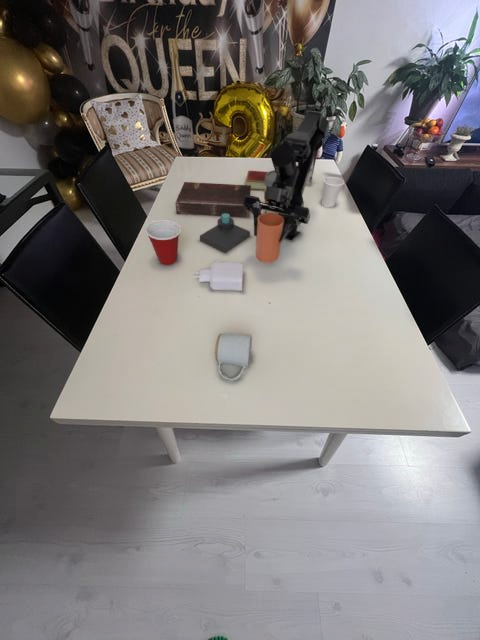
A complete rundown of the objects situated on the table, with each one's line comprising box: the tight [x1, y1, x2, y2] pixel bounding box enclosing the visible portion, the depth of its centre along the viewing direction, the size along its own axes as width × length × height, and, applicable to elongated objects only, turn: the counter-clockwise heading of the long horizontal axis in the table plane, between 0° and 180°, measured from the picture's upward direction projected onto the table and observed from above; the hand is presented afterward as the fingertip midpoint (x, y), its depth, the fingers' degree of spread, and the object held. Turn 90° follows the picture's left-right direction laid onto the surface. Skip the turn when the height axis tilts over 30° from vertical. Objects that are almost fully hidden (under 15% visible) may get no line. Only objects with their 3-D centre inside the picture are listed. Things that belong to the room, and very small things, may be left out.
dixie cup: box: [321, 176, 345, 208], centre depth 126 cm, size 8×8×10 cm
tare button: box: [221, 213, 231, 223], centre depth 109 cm, size 3×3×2 cm
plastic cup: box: [144, 219, 182, 266], centre depth 95 cm, size 11×11×12 cm
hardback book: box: [175, 181, 252, 219], centre depth 124 cm, size 29×19×5 cm, turn 86°
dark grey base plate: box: [199, 216, 251, 254], centre depth 108 cm, size 14×12×4 cm
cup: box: [254, 212, 284, 264], centre depth 86 cm, size 7×7×12 cm
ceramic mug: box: [214, 332, 253, 382], centre depth 69 cm, size 11×8×8 cm
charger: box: [192, 261, 244, 292], centre depth 91 cm, size 5×9×15 cm
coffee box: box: [305, 149, 319, 187], centre depth 139 cm, size 9×6×16 cm
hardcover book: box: [245, 170, 268, 192], centre depth 139 cm, size 12×21×4 cm, turn 84°
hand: (267, 239), depth 85 cm, fingers closed on cup, 7 cm apart
